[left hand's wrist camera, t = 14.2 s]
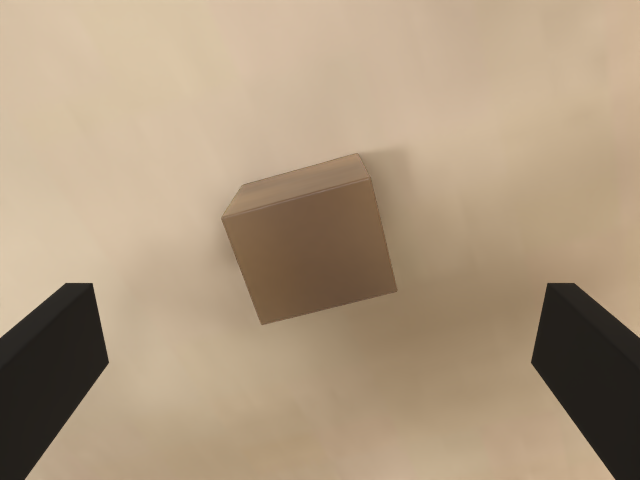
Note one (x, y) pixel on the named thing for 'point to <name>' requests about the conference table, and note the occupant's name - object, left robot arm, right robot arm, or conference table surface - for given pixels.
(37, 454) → the left robot arm
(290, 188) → the brick
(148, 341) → the conference table surface
